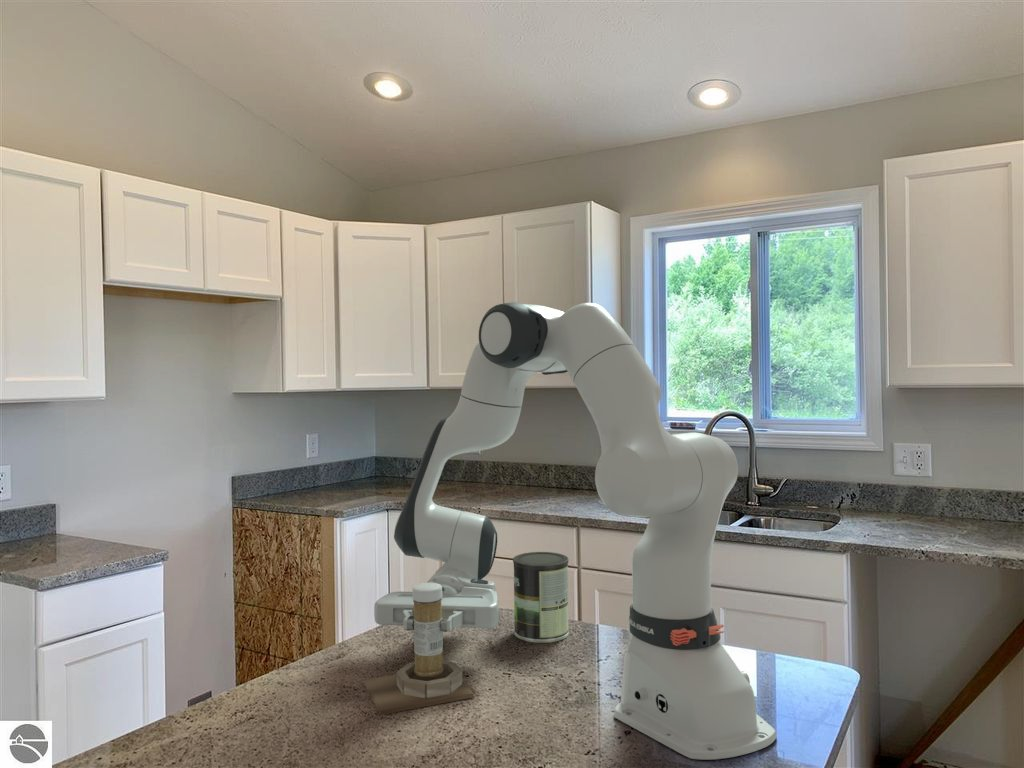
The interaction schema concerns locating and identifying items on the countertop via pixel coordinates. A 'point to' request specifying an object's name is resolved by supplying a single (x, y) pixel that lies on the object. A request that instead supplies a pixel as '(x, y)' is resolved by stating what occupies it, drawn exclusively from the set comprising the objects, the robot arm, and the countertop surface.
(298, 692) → the countertop surface
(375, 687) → the socket board
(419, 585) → the sprinkles bottle
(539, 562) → the coffee can
